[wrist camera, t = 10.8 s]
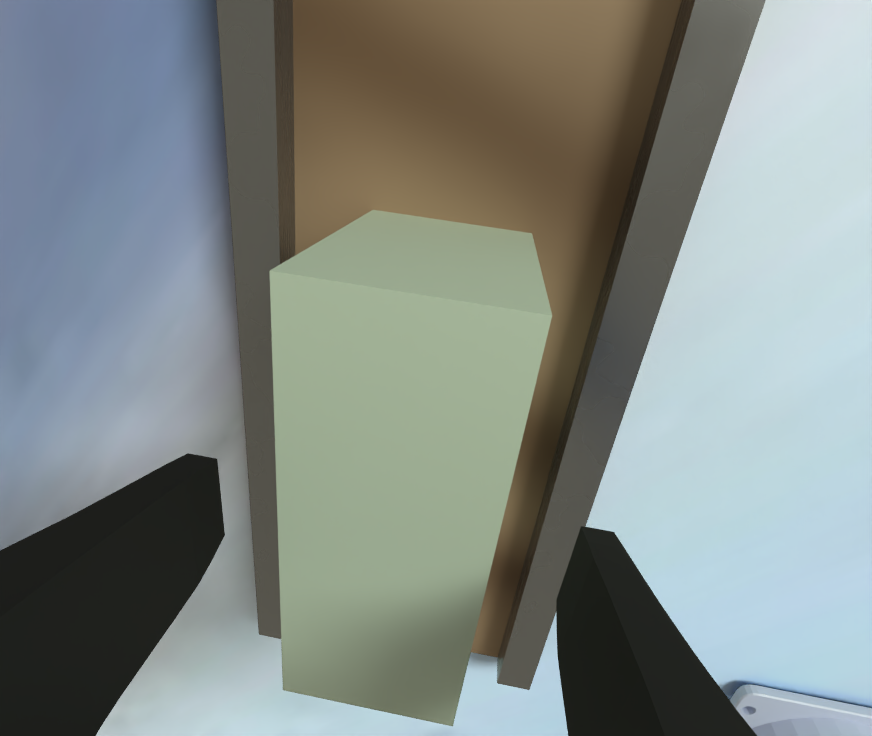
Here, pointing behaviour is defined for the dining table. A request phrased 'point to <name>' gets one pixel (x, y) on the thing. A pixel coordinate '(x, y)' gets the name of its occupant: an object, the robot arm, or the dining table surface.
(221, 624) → the dining table surface
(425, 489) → the pale green block
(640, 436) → the dining table surface
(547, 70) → the floor track
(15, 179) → the dining table surface
